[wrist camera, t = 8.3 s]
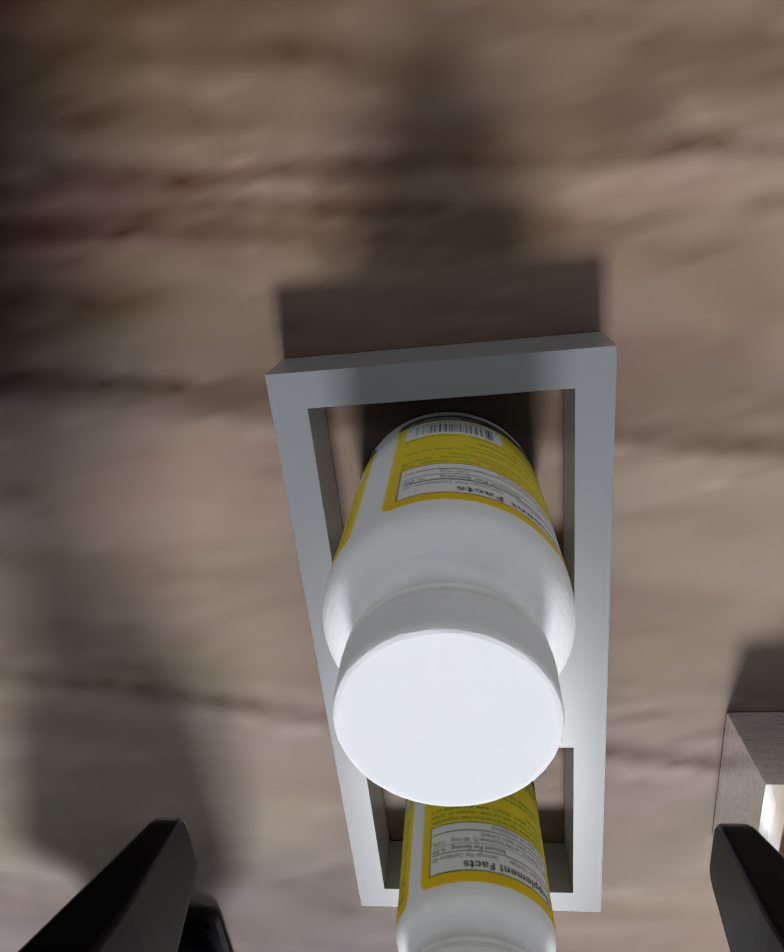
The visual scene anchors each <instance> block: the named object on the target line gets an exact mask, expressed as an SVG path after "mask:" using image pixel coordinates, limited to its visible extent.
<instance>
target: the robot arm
mask: <svg viewBox="0 0 784 952" xmlns="http://www.w3.org/2000/svg"><path fill="white" fill-rule="evenodd" d="M196 872H197V857H196V853H195V850H194V847H193V844H192V840H191V837H190V834H189V831H188V828H187V825H186V823H185V821H184V820H182V819H181V818H158V819H155V820H154V821H152V822H151V823H149V824H148V825H147V826H146V827H145V828H144V829H143V830H142V831H141V832H140V833H139V834H138V835H137V836H136V837H135V838H134V839H133V840H132V841H131V842H130V843H129V844H128V845H127V846H126V847H125V848H124V849H123V850H122V851H121V852H120V853H119V854H118V855H116V856H115V857H114V858H113V859H112V860H111V861H110V862H109V863H108V864H107V865H106V866H105V867H104V868H103V869H102V870H101V871H100V872H99V873H98V874H97V875H96V876H95V877H94V878H93V879H92V880H91V881H90V882H89V883H88V884H87V885H86V886H85V887H84V888H83V889H82V890H81V891H80V892H79V893H78V894H76V895H75V896H74V897H73V898H72V899H71V900H70V901H69V902H68V903H67V904H66V905H65V906H64V907H63V908H62V909H61V910H60V911H59V912H58V913H57V914H56V915H55V916H54V917H53V918H52V919H51V920H50V921H49V922H48V923H47V924H46V925H45V926H44V927H43V928H42V929H41V930H40V931H39V932H38V933H37V934H35V935H34V936H33V937H32V938H31V939H30V940H29V941H28V942H27V943H26V944H25V945H24V946H23V947H22V948H21V949H20V950H19V951H18V952H230V950H229V947H228V943H227V940H226V937H225V934H224V930H223V927H222V924H221V921H220V918H219V916H218V914H217V913H216V912H214V911H212V910H208V909H188V906H189V902H190V897H191V893H192V889H193V885H194V881H195V877H196ZM710 877H711V883H712V887H713V891H714V894H715V898H716V902H717V905H718V909H719V912H720V916H721V919H722V923H723V927H724V930H725V934H726V937H727V941H728V945H729V948H730V952H784V857H783V856H782V855H781V854H780V853H779V852H778V851H777V850H776V849H775V848H774V847H773V846H772V845H771V844H770V843H769V842H768V841H767V840H766V839H765V838H764V837H763V836H762V835H761V834H760V833H759V832H758V831H757V830H756V829H755V828H754V827H752V826H750V825H748V824H742V823H721V824H718V825H717V826H716V827H715V830H714V836H713V844H712V852H711V860H710Z"/></svg>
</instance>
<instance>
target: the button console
mask: <svg viewBox="0 0 784 952" xmlns="http://www.w3.org/2000/svg"><path fill="white" fill-rule="evenodd" d="M721 823H742V824H748V825H750V826H752V827H754V828H755V829H756V830H757V831H758V832H759V833H760V834H761V835H762V836H763V837H764V838H765V839H766V840H767V841H768V842H769V843H770V844H771V845H772V846H773V847H774V848H775V849H776V850H777V851H778V852H779V853H780V854H781V855H782V856H783V857H784V712H738V713H727V716H726V725H725V733H724V741H723V750H722V758H721V767H720V775H719V783H718V792H717V800H716V808H715V817H714V825H713V833H712V836H714V830H715V827H716V826H717V825H718V824H721Z"/></svg>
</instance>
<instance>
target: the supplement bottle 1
mask: <svg viewBox="0 0 784 952" xmlns="http://www.w3.org/2000/svg"><path fill="white" fill-rule="evenodd" d="M322 616H323V628H324V633H325V637H326V641H327V644H328V647H329V650H330V652H331V655H332V657H333V659H334V661H335V663H336V665H337V667H338V668H339V672H338V677H337V682H336V686H335V691H334V695H333V704H332V716H333V723H334V728H335V732H336V735H337V738H338V741H339V742H340V744H341V746H342V748H343V750H344V752H345V753H346V755H347V756H348V758H349V759H350V761H351V762H352V763H353V764H354V766H355V767H356V768H357V769H358V770H359V771H360V772H361V773H362V774H364V775H365V776H366V777H367V778H368V779H370V780H371V781H372V782H374V783H375V784H377V785H379V786H380V787H382V788H384V789H386V790H388V791H389V792H391V793H393V794H395V795H398V796H400V797H403V798H405V799H409V800H412V801H415V802H419V803H424V804H429V805H437V806H470V805H477V804H483V803H487V802H491V801H495V800H498V799H500V798H503V797H505V796H508V795H510V794H513V793H515V792H517V791H519V790H520V789H522V788H524V787H526V786H527V785H528V784H529V783H531V782H532V781H533V780H535V779H536V778H537V777H538V776H539V775H540V774H541V773H542V772H543V771H544V770H545V769H546V768H547V766H548V765H549V764H550V762H551V761H552V759H553V758H554V756H555V754H556V752H557V750H558V748H559V746H560V743H561V739H562V736H563V731H564V722H565V712H564V706H563V700H562V695H561V689H560V684H559V678H558V676H559V675H560V673H561V671H562V670H563V668H564V666H565V664H566V662H567V660H568V658H569V656H570V653H571V649H572V646H573V642H574V637H575V630H576V606H575V600H574V595H573V590H572V586H571V581H570V578H569V575H568V571H567V568H566V565H565V562H564V559H563V556H562V553H561V551H560V547H559V544H558V541H557V538H556V535H555V532H554V529H553V526H552V523H551V520H550V517H549V514H548V510H547V507H546V505H545V502H544V498H543V495H542V492H541V489H540V486H539V483H538V481H537V478H536V475H535V473H534V470H533V468H532V465H531V463H530V461H529V459H528V457H527V455H526V454H525V452H524V451H523V449H522V448H521V446H520V445H519V444H518V443H517V442H516V441H515V440H514V439H513V438H512V437H511V436H510V435H509V434H508V433H507V432H506V431H504V430H503V429H502V428H500V427H499V426H497V425H495V424H494V423H492V422H490V421H488V420H485V419H483V418H480V417H477V416H474V415H470V414H466V413H459V412H437V413H432V414H427V415H423V416H420V417H417V418H414V419H412V420H409V421H407V422H405V423H404V424H402V425H400V426H398V427H397V428H396V429H394V430H393V431H392V432H390V433H389V434H388V435H387V436H386V437H385V438H384V439H383V440H382V441H381V442H380V443H379V444H378V446H377V447H376V449H375V450H374V451H373V453H372V454H371V456H370V458H369V460H368V462H367V465H366V467H365V469H364V472H363V474H362V477H361V479H360V482H359V486H358V489H357V492H356V495H355V498H354V501H353V504H352V507H351V510H350V513H349V516H348V518H347V521H346V524H345V528H344V531H343V533H342V537H341V540H340V543H339V546H338V549H337V552H336V554H335V557H334V560H333V563H332V566H331V569H330V572H329V575H328V579H327V584H326V588H325V593H324V599H323V613H322Z"/></svg>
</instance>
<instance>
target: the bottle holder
mask: <svg viewBox="0 0 784 952" xmlns="http://www.w3.org/2000/svg"><path fill="white" fill-rule="evenodd" d="M616 366H617V345H616V344H615V343H613V342H612V341H611V340H610V339H609V338H607V337H606V336H605V335H604V334H602V333H601V332H590V333H578V334H566V335H555V336H543V337H532V338H520V339H509V340H497V341H486V342H474V343H463V344H451V345H440V346H428V347H417V348H405V349H394V350H382V351H371V352H359V353H348V354H336V355H325V356H313V357H301V358H290V359H283V360H282V361H281V362H280V363H279V364H277V365H276V366H275V367H274V368H273V369H271V370H270V371H269V372H268V373H267V374H266V375H265V378H266V384H267V389H268V395H269V400H270V406H271V411H272V417H273V422H274V428H275V433H276V439H277V444H278V450H279V455H280V461H281V466H282V472H283V477H284V482H285V488H286V493H287V499H288V504H289V510H290V515H291V521H292V526H293V532H294V537H295V543H296V548H297V554H298V559H299V565H300V570H301V576H302V581H303V587H304V592H305V598H306V603H307V609H308V614H309V619H310V625H311V630H312V636H313V641H314V647H315V652H316V658H317V663H318V669H319V674H320V680H321V685H322V691H323V696H324V702H325V707H326V713H327V718H328V724H329V729H330V735H331V740H332V746H333V751H334V756H335V762H336V767H337V773H338V778H339V784H340V789H341V795H342V800H343V806H344V811H345V817H346V822H347V828H348V833H349V839H350V844H351V850H352V855H353V861H354V866H355V872H356V877H357V882H358V888H359V893H360V899H361V904H362V906H393V907H398V899H399V886H400V875H401V862H402V848H403V841H389V834H388V827H387V821H386V814H385V807H384V801H383V794H382V787H380V786H379V785H377V784H375V783H374V782H372V781H371V780H370V779H368V778H367V777H366V776H365V775H364V774H362V773H361V772H360V771H359V770H358V769H357V768H356V767H355V766H354V764H353V763H352V762H351V761H350V759H349V758H348V756H347V755H346V753H345V752H344V750H343V748H342V746H341V744H340V742H339V741H338V738H337V735H336V732H335V728H334V723H333V716H332V704H333V695H334V691H335V686H336V682H337V677H338V672H339V668H338V667H337V665H336V663H335V661H334V659H333V657H332V655H331V652H330V650H329V647H328V644H327V641H326V637H325V633H324V628H323V616H322V613H323V599H324V593H325V588H326V584H327V579H328V575H329V572H330V569H331V566H332V563H333V560H334V557H335V554H336V552H337V549H338V546H339V543H340V540H341V537H342V533H343V526H342V519H341V513H340V506H339V499H338V493H337V486H336V479H335V473H334V466H333V459H332V452H331V446H330V439H329V432H328V426H327V419H326V412H325V407H335V406H349V405H362V404H375V403H388V402H401V401H414V400H427V399H440V398H454V397H467V396H480V395H493V394H506V393H519V392H532V391H546V390H559V389H563V494H564V562H565V565H566V568H567V571H568V575H569V578H570V581H571V586H572V590H573V595H574V600H575V606H576V630H575V637H574V642H573V646H572V649H571V653H570V656H569V658H568V660H567V662H566V664H565V666H564V668H563V670H562V671H561V673H560V675H559V676H558V678H559V684H560V689H561V695H562V700H563V706H564V712H565V722H564V731H563V736H562V739H561V743H560V746H559V748H564V809H565V843H543V850H544V856H545V863H546V870H547V877H548V884H549V890H550V897H551V903H552V910H553V911H587V912H601V888H602V853H603V818H604V783H605V749H606V714H607V679H608V644H609V610H610V575H611V540H612V505H613V471H614V436H615V401H616Z"/></svg>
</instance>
